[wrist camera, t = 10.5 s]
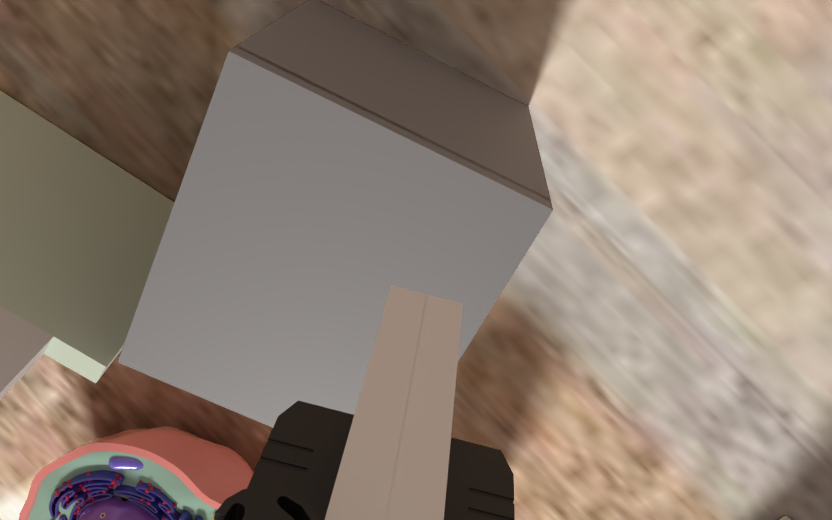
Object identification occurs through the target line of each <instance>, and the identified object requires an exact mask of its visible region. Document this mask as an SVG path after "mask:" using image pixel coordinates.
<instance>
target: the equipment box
mask: <svg viewBox="0 0 832 520" xmlns="http://www.w3.org/2000/svg"><path fill="white" fill-rule="evenodd" d="M552 211H553V208H552V204H551V199H550V195H549V191H548V187H547V183H546V178H545V174H544V170H543V166H542V162H541V157H540V153H539V149H538V145H537V141H536V136H535V132H534V128H533V124H532V120H531V115H530V111H529V107H528V106H526V105H524V104H522V103H520V102H518V101H516V100H514V99H512V98H510V97H508V96H506V95H504V94H502V93H500V92H498V91H496V90H494V89H492V88H490V87H488V86H486V85H484V84H482V83H480V82H478V81H476V80H475V79H473V78H471V77H469V76H467V75H465V74H463V73H461V72H459V71H457V70H455V69H453V68H451V67H449V66H447V65H445V64H443V63H441V62H439V61H437V60H435V59H433V58H431V57H429V56H427V55H425V54H423V53H421V52H419V51H417V50H415V49H414V48H412V47H410V46H408V45H406V44H404V43H402V42H400V41H398V40H396V39H394V38H392V37H390V36H388V35H386V34H384V33H382V32H380V31H378V30H376V29H374V28H372V27H370V26H368V25H366V24H364V23H362V22H360V21H358V20H356V19H354V18H352V17H351V16H349V15H347V14H345V13H343V12H341V11H339V10H337V9H335V8H333V7H331V6H329V5H327V4H325V3H323V2H321V1H319V0H307V1H306V2H304V3H303V4H301V5H299V6H298V7H296V8H295V9H293V10H292V11H290V12H289V13H287V14H285V15H284V16H282V17H281V18H279V19H278V20H276V21H275V22H273V23H271V24H270V25H268V26H267V27H265V28H264V29H262V30H261V31H259V32H257V33H256V34H254V35H253V36H251V37H250V38H248V39H247V40H245V41H243V42H242V43H240V44H239V45H237V46H236V47H234V48H233V49H231V50H229V51H228V54H227V57H226V60H225V63H224V65H223V68H222V71H221V74H220V77H219V79H218V82H217V85H216V88H215V91H214V93H213V96H212V99H211V102H210V105H209V107H208V110H207V113H206V116H205V119H204V121H203V124H202V127H201V130H200V133H199V135H198V138H197V141H196V144H195V147H194V149H193V152H192V155H191V158H190V161H189V163H188V166H187V169H186V172H185V175H184V178H183V180H182V183H181V186H180V189H179V192H178V194H177V197H176V200H175V203H174V206H173V208H172V211H171V214H170V217H169V220H168V222H167V225H166V228H165V231H164V234H163V236H162V239H161V242H160V245H159V248H158V250H157V253H156V256H155V259H154V262H153V264H152V267H151V270H150V273H149V276H148V278H147V281H146V284H145V287H144V290H143V292H142V295H141V298H140V301H139V304H138V306H137V309H136V312H135V315H134V318H133V321H132V323H131V326H130V329H129V332H128V335H127V337H126V340H125V343H124V346H123V349H122V351H121V354H120V357H119V360H118V363H120V364H122V365H125V366H127V367H129V368H132V369H134V370H136V371H139V372H141V373H144V374H146V375H148V376H151V377H153V378H155V379H158V380H160V381H163V382H165V383H167V384H170V385H172V386H175V387H177V388H179V389H182V390H184V391H186V392H189V393H191V394H194V395H196V396H198V397H201V398H203V399H205V400H208V401H210V402H213V403H215V404H217V405H220V406H222V407H224V408H227V409H229V410H232V411H234V412H236V413H239V414H241V415H243V416H246V417H248V418H251V419H253V420H255V421H258V422H260V423H262V424H265V425H267V426H270V427H272V428H273V427H274V424H275V422H276V420H277V418H278V416H279V415H280V414H282V413H283V412H284V411H285V410H287V409H288V408H289V407H290V406H292V405H293V404H294V403H296V402H297V401H302V402H306V403H310V404H314V405H318V406H322V407H326V408H330V409H333V410H337V411H341V412H345V413H349V414H353V415H354V414H355V410H356V407H357V403H358V400H359V396H360V393H361V389H362V386H363V382H364V379H365V375H366V372H367V368H368V364H369V361H370V357H371V354H372V350H373V347H374V343H375V340H376V336H377V333H378V329H379V326H380V322H381V319H382V315H383V311H384V308H385V304H386V301H387V297H388V294H389V290H390V287H391V285H394V286H397V287H401V288H405V289H409V290H413V291H417V292H421V293H424V294H428V295H432V296H436V297H440V298H444V299H448V300H452V301H455V302H459V303H463V309H462V320H461V331H460V342H459V354H458V361H459V360H460V358H461V357H462V355H463V353H464V352H465V350H466V349H467V347H468V345H469V344H470V342H471V341H472V339H473V337H474V336H475V334H476V333H477V331H478V329H479V328H480V326H481V325H482V323H483V321H484V320H485V318H486V317H487V315H488V313H489V312H490V310H491V308H492V307H493V305H494V304H495V302H496V300H497V299H498V297H499V296H500V294H501V292H502V291H503V289H504V288H505V286H506V284H507V283H508V281H509V280H510V278H511V276H512V275H513V273H514V272H515V270H516V268H517V267H518V265H519V264H520V262H521V260H522V259H523V257H524V256H525V254H526V252H527V251H528V249H529V247H530V246H531V244H532V243H533V241H534V239H535V238H536V236H537V235H538V233H539V231H540V230H541V228H542V227H543V225H544V223H545V222H546V220H547V219H548V217H549V215H550V214H551V212H552Z"/></svg>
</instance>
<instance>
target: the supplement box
mask: <svg viewBox="0 0 832 520" xmlns="http://www.w3.org/2000/svg"><path fill="white" fill-rule="evenodd" d="M779 520H791V519H790V518H789V517H787V516H784V517H782V518H781V519H779Z"/></svg>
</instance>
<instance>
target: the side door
mask: <svg viewBox="0 0 832 520" xmlns="http://www.w3.org/2000/svg"><path fill="white" fill-rule="evenodd" d="M173 206H174V202H173V201H171V200H170V199H168V198H167V197H165V196H164V195H162V194H160V193H159V192H157V191H156V190H154V189H153V188H151V187H150V186H148V185H146V184H145V183H143V182H142V181H140V180H139V179H137V178H136V177H134V176H132V175H131V174H129V173H128V172H126V171H125V170H123V169H122V168H120V167H118V166H117V165H115V164H114V163H112V162H111V161H109V160H108V159H106V158H104V157H103V156H101V155H100V154H98V153H97V152H95V151H94V150H92V149H91V148H89V147H87V146H86V145H84V144H83V143H81V142H80V141H78V140H77V139H75V138H73V137H72V136H70V135H69V134H67V133H66V132H64V131H63V130H61V129H59V128H58V127H56V126H55V125H53V124H52V123H50V122H49V121H47V120H45V119H44V118H42V117H41V116H39V115H38V114H36V113H35V112H33V111H32V110H30V109H28V108H27V107H25V106H24V105H22V104H21V103H19V102H18V101H16V100H14V99H13V98H11V97H10V96H8V95H7V94H5V93H4V92H2V91H0V400H1V399H2V398H3V396H4V395H5V394H6V393H7V392H8V391H9V390H10V389H11V388H12V387H13V386H14V385H15V384H16V383H17V382H18V380H19V379H20V378H21V377H22V376H23V375H24V374H25V373H26V372H27V371H28V370H29V369H30V368H31V367H32V366H33V364H34V363H35V362H36V361H37V360H38V359H39V358H40V357H41V356H42V355H43V354H45V355H47V356H48V357H50V358H52V359H54V360H55V361H57V362H59V363H61V364H62V365H64V366H66V367H68V368H69V369H71V370H73V371H75V372H76V373H78V374H80V375H82V376H83V377H85V378H87V379H89V380H90V381H92V382H94V383H97V381H98V380H99V379H100V377H101V376H102V375H103V374H104V372H105V371H106V370H107V368H108V367H109V366H110V365H111V363H112V362H113V361H114V359H115V358H116V357H117V355H118V354H119V353H120V352H121V350H122V349H123V346H124V343H125V340H126V337H127V335H128V332H129V329H130V326H131V323H132V321H133V318H134V315H135V312H136V309H137V306H138V304H139V301H140V298H141V295H142V292H143V290H144V287H145V284H146V281H147V278H148V276H149V273H150V270H151V267H152V264H153V262H154V259H155V256H156V253H157V250H158V248H159V245H160V242H161V239H162V236H163V234H164V231H165V228H166V225H167V222H168V220H169V217H170V214H171V211H172V208H173Z"/></svg>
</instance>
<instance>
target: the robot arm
mask: <svg viewBox="0 0 832 520" xmlns="http://www.w3.org/2000/svg"><path fill="white" fill-rule="evenodd" d="M462 309H463V303H459V302H455V301H452V300H448V299H444V298H440V297H436V296H432V295H428V294H424V293H421V292H417V291H413V290H409V289H405V288H401V287H397V286H394V285H391V287H390V290H389V294H388V297H387V301H386V304H385V308H384V311H383V315H382V319H381V322H380V326H379V329H378V333H377V336H376V340H375V343H374V347H373V350H372V354H371V357H370V361H369V364H368V368H367V372H366V375H365V379H364V382H363V386H362V389H361V393H360V396H359V400H358V403H357V407H356V410H355V414H354V415H353V414H349V413H345V412H341V411H337V410H333V409H330V408H326V407H322V406H318V405H314V404H310V403H306V402H302V401H297V402H296V403H294V404H293V405H292V406H290V407H289V408H288V409H287V410H285V411H284V412H283V413H282V414H280V415H279V416H278V418H277V420H276V422H275V424H274V427H273V429H272V431H271V434H270V436H269V439H268V442H267V443H266V445H265V448H264V450H263V452H262V455H261V458H260V461H259V462H258V464H257V466H256V469H255V471H254V473H253V476H252V478H251V480H250V482H249V485H248V487H247V489H243V490H241V491H239V492H237V493H236V494H234V495H232V496H230V497H228V498H227V499H225V501H224V502H223V503H222V505H221V506H220V507H219V508H218V510H217V511H216V512H215V516H214V520H514V504H513V501H514V480H513V473H512V471H511V469H510V467H509V465H508V463H507V461H506V459H505V457H504V455H503V453H502V452H501V450H497V449H493V448H489V447H486V446H482V445H478V444H474V443H470V442H466V441H462V440H458V439H454V438H451V432H452V421H453V410H454V398H455V387H456V376H457V365H458V354H459V342H460V331H461V320H462Z"/></svg>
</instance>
